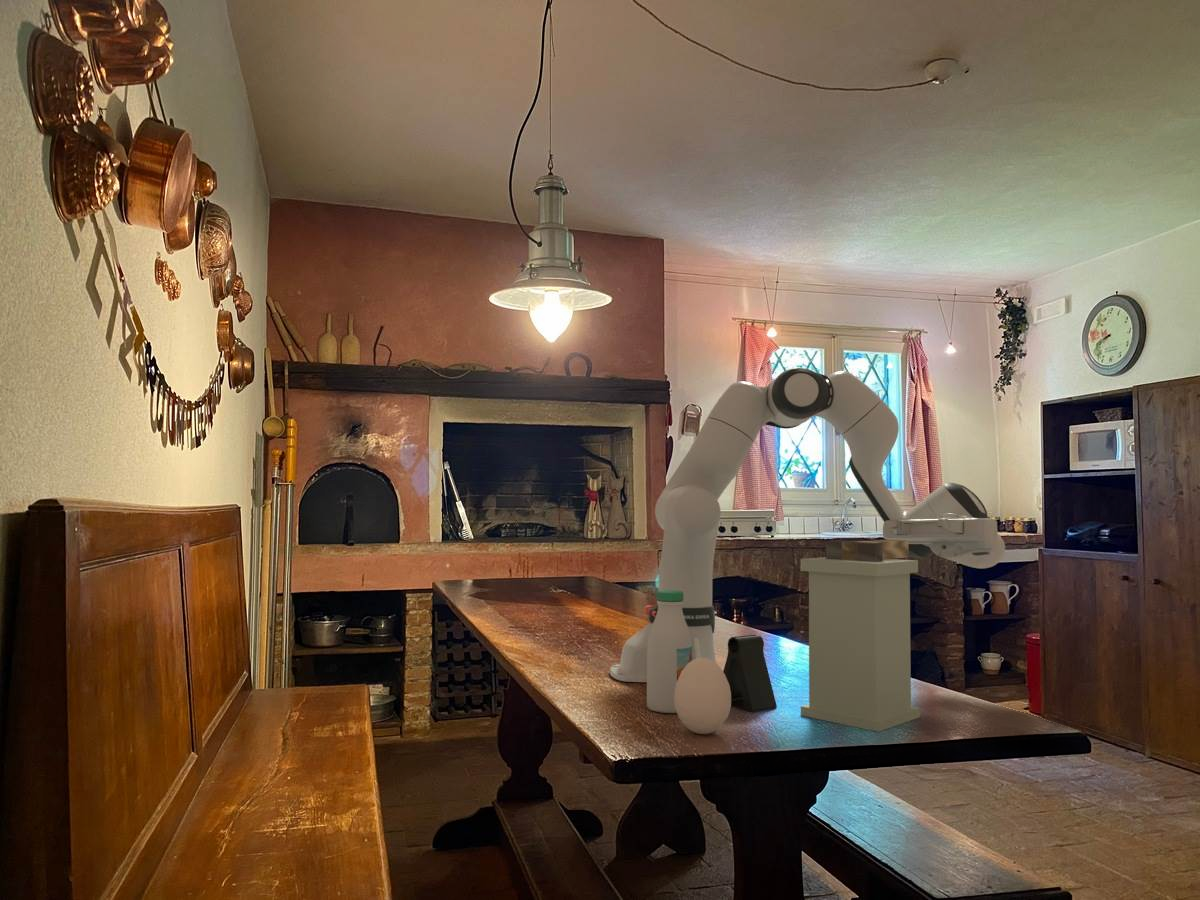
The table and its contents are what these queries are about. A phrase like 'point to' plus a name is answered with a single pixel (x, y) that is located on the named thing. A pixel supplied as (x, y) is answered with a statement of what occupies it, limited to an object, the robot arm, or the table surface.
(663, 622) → the milk bottle
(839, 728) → the table surface
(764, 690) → the phone stand
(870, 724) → the pedestal stand
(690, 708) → the egg
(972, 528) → the robot arm
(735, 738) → the table surface
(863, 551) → the tan block
